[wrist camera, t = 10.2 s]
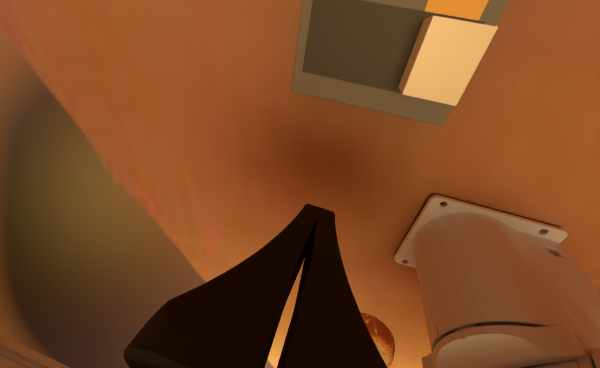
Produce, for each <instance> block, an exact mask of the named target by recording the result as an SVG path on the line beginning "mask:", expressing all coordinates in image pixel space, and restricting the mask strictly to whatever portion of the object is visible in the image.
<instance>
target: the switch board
mask: <svg viewBox="0 0 600 368" xmlns="http://www.w3.org/2000/svg"><path fill="white" fill-rule="evenodd" d="M508 2H509V0H303V8H302V16H301V23H300V31H299V38H298V46H297V53H296V61H295V69H294V76H293V84H292V91H294V92H298V93H302V94H307V95H311V96H315V97H320V98H324V99H328V100H333V101H337V102H341V103H345V104H350V105H354V106H358V107H363V108H367V109H371V110H375V111H380V112H384V113H388V114H393V115H397V116H401V117H406V118H410V119H414V120H418V121H423V122H427V123H431V124H436V125H440V126H443V124H444V122H445V120H446V118H447V117H448V115H449V113H450V111H451V109H452V107H453V105H448V104H444V103H439V102H435V101H430V100H426V99H421V98H417V97H412V96H408V95H403V94H402V93H401V91H400V89H399V88H398V86H399V84H400V81H401V78H402V76H403V73H404V70H405V68H406V65H407V63H408V60H409V57H410V55H411V52H412V49H413V47H414V44H415V41H416V39H417V36H418V34H419V31H420V28H421V26H422V23H423V20H424V19H426V18H428V17H431V16H439V17H445V18H451V19H456V20H462V21H468V22H473V23H479V24H485V25H491V26H496V24H497V22H498V20H499V19H500V17H501V15H502V13H503V11H504V9H505V7H506V5H507V3H508Z"/></svg>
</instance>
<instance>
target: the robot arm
mask: <svg viewBox="0 0 600 368" xmlns="http://www.w3.org/2000/svg"><path fill="white" fill-rule="evenodd" d="M441 202H446V203H445V204H440V203H441ZM542 229H544V230H542ZM540 230H542V231H540ZM567 235H568V234H567V232H566V231H565V230H564V229H562V228H559V227H556V226H552V225H548V224H544V223H541V222H537V221H533V220H530V219H526V218H522V217H518V216H515V215H511V214H507V213H504V212H500V211H496V210H493V209H489V208H485V207H481V206H478V205H474V204H470V203H467V202H463V201H459V200H455V199H452V198H448V197H444V196H441V195H433V196H431V197H430V198H429V199H428V201H427V203H426V204H425V206H424V208H423V209H422V211H421V213H420V214H419V216H418V218H417V219H416V221H415V222H414V224H413V226H412V227H411V229H410V231H409V232H408V234H407V236H406V237H405V239H404V240H403V242H402V244H401V245H400V247H399V249H398V250H397V252H396V254H395V255H394V260H395V262H397V263H400V264H403V265H406V266H409V267H412V268H416V272H417V278H418V283H419V288H420V293H421V298H422V303H423V308H424V314H425V319H426V324H427V329H428V334H429V339H430V345H431V350H432V353H431V354H429V355H427V356H425V357H422V364H423V368H600V287H599V286H598V285H597V284H596V283H595V282H594V281H593V280H592V279H591V278H590V276H589V275H588V274H587V273H586V272H585V271H584V270H583V269H582V268H581V267H580V266H579V264H578V263H577V262H576V261H575V260H574V259H573V258H572V257H571V256H570V255H569V254H568V253H567V251H566V250H565V249H564V248H563V247H562V246H561V245H560V244H559V243H560V242H561V241H563V240H564V239H565V238H566V237H567ZM304 258H305V260H304ZM303 261H304V265H303V269H302V274H301V279H300V284H299V289H298V294H297V299H296V303H295V307H294V312H293V315H292V319H291V322H290V325H289V329H288V332H287V336H286V339H285V342H284V346H283V349H282V352H281V356H280V359H279V362H278V366H277V368H388V367H387V366H386V364H385V362H384V360H383V358H382V356H381V354H380V352H379V351H378V349H377V347H376V345H375V343H374V341H373V339H372V337H371V335H370V333H369V330H368V328H367V326H366V324H365V322H364V319H363V317H362V315H361V313H360V311H359V308H358V306H357V304H356V301H355V298H354V296H353V293H352V291H351V288H350V285H349V282H348V279H347V276H346V273H345V270H344V266H343V262H342V259H341V255H340V250H339V246H338V241H337V235H336V228H335V214H334V212H332V211H329V210H326V209H323V208H320V207H316V206H313V205H310V204H306V205H305V206H304V207H303V209H302V210H301V212H300V213H299V214H298V215H297V216H296V217H295V219H294V220H293V221H292V222H291V223H290V224H289V225H288V226H287V227H286V228H285V229H284V230H283V231H282V232H281V233H279V234H278V235H277V236H276V237H275V238H274V239H272V240H271V241H270V242H269V243H268V244H266V245H265V246H264V247H263V248H261V249H260V250H259V251H257V252H256V253H255V254H253V255H252V256H250V257H249V258H247V259H246V260H244V261H243V262H241V263H240V264H238V265H237V266H235V267H233V268H232V269H230V270H228V271H226V272H225V273H223V274H221V275H219V276H217V277H216V278H214V279H212V280H210V281H208V282H207V283H205V284H203V285H201V286H199V287H197V288H194V289H192V290H190V291H188V292H186V293H184V294H182V295H179V296H177V297H175V298H173V299H171V300H169V301H167V302H166V303H165V304H164V305H163V306H162V307H161V308H160V309H159V310H158V311H157V312H156V313H155V314H154V316H153V317H151V318H150V320H148V322H147V323H146V324H145V325H144V326H143V328H142V329H141V330H140V331H139V333H138V334H137V335H136V337H135V338H134V339H133V340H132V341H131V343H130V344H129V345H128V347H127V348H126V349H125V351H124V358H125V361H126V363H127V364H128V366H129V367H130V368H265V364H266V361H267V358H268V355H269V352H270V349H271V346H272V343H273V340H274V337H275V334H276V331H277V328H278V324H279V321H280V318H281V315H282V312H283V309H284V307H285V304H286V301H287V299H288V296H289V294H290V292H291V289H292V287H293V285H294V282H295V280H296V277H297V275H298V273H299V270H300V268H301V266H302V263H303ZM0 368H70V367H67V366H65V365H63V364H61V363H59V362H57V361H54V360H52V359H50V358H48V357H46V356H44V355H42V354H39V353H37V352H35V351H33V350H31V349H29V348H26V347H24V346H22V345H20V344H18V343H16V342H14V341H11V340H9V339H7V338H5V337H3V336H1V335H0Z"/></svg>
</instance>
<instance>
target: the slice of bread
mask: <svg viewBox="0 0 600 368" xmlns="http://www.w3.org/2000/svg"><path fill="white" fill-rule="evenodd" d="M361 315H362V317H363V319H364V322H365V324H366V326H367V328H368V330H369V333H370V335H371V337H372V339H373V341H374V343H375V345H376V347H377V349H378V351H379V352H380V354H381V356H382V358H383V360H384V362H385V364H386V366H387V367H389V366H390V365H391V364H392V362H393V357H394V351H395V344H394V339H393V335H392V333H391V332H390V330H389V329H388V328H387V327H386V326H385V325H384V324H383V323H382V322H381V321H379V320H378V319H377V318H375V317H374V316H371V315H369V314H365V313H361Z"/></svg>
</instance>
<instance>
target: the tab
mask: <svg viewBox="0 0 600 368" xmlns="http://www.w3.org/2000/svg"><path fill="white" fill-rule="evenodd" d="M497 29H498V27H496V26H491V25H485V24H479V23H473V22H468V21H462V20H456V19H451V18H445V17H439V16H431V17H428V18H426V19H424V20H423V23H422V26H421V28H420V31H419V34H418V36H417V39H416V41H415V44H414V47H413V49H412V52H411V55H410V57H409V60H408V63H407V65H406V68H405V70H404V73H403V76H402V78H401V81H400V84H399V86H398V88H399V89H400V91H401V93H402V94H403V95H408V96H412V97H417V98H421V99H426V100H430V101H435V102H439V103H444V104H448V105H453V106H456V105H457V103H458V101H459V99H460V97H461V96H462V94H463V92H464V90H465V88H466V86H467V84H468V83H469V81H470V79H471V77H472V75H473V73H474V71H475V69H476V68H477V66H478V64H479V62H480V60H481V58H482V56H483V55H484V53H485V51H486V49H487V47H488V45H489V43H490V42H491V40H492V38H493V36H494V34H495V32H496V30H497Z"/></svg>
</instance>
